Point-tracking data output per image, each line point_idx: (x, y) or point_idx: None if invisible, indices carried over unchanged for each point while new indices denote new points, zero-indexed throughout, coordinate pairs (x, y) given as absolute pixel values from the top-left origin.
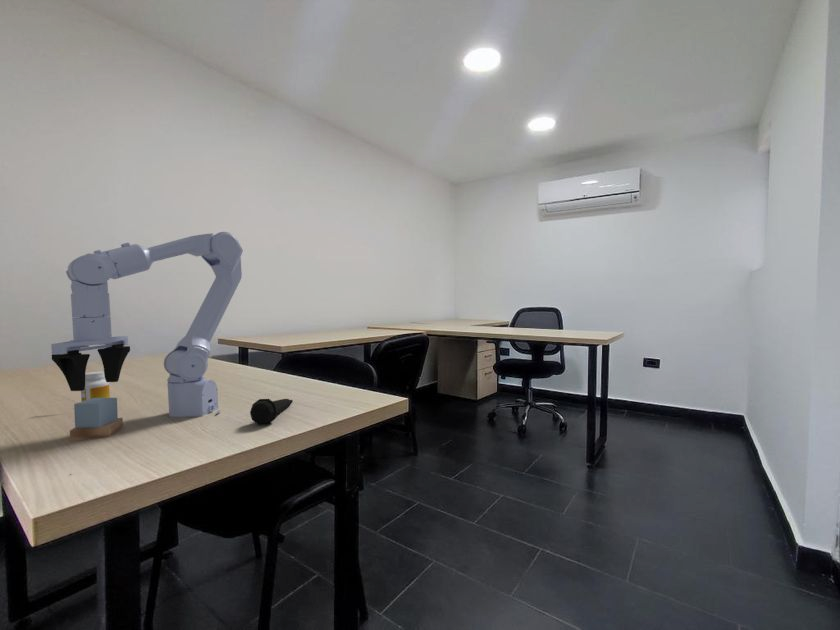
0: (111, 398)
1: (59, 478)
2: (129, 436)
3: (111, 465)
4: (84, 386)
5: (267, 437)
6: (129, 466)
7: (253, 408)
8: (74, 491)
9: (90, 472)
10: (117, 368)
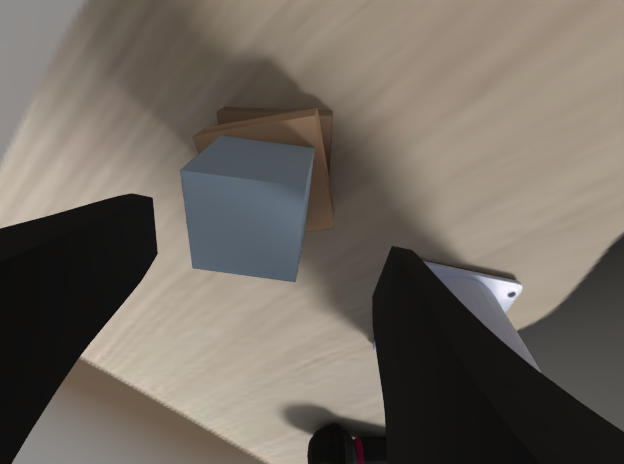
0: (282, 269)
1: None
2: None
3: None
4: (142, 271)
5: (252, 437)
6: (121, 313)
7: (316, 461)
8: None
9: None
10: (384, 383)
